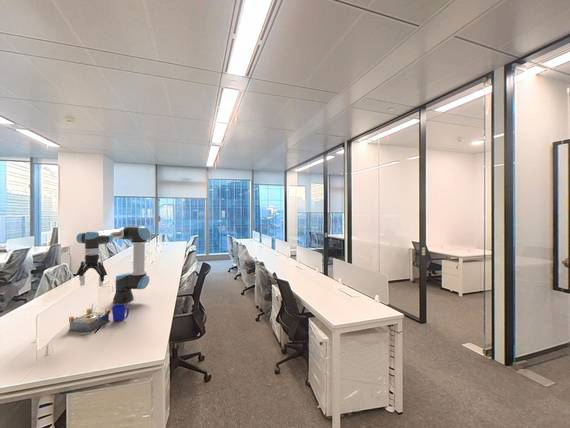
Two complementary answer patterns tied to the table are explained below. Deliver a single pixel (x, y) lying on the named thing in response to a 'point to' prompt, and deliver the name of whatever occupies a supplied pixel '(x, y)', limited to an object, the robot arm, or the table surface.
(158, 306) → the table surface
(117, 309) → the mug
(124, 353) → the table surface
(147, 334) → the table surface
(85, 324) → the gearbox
